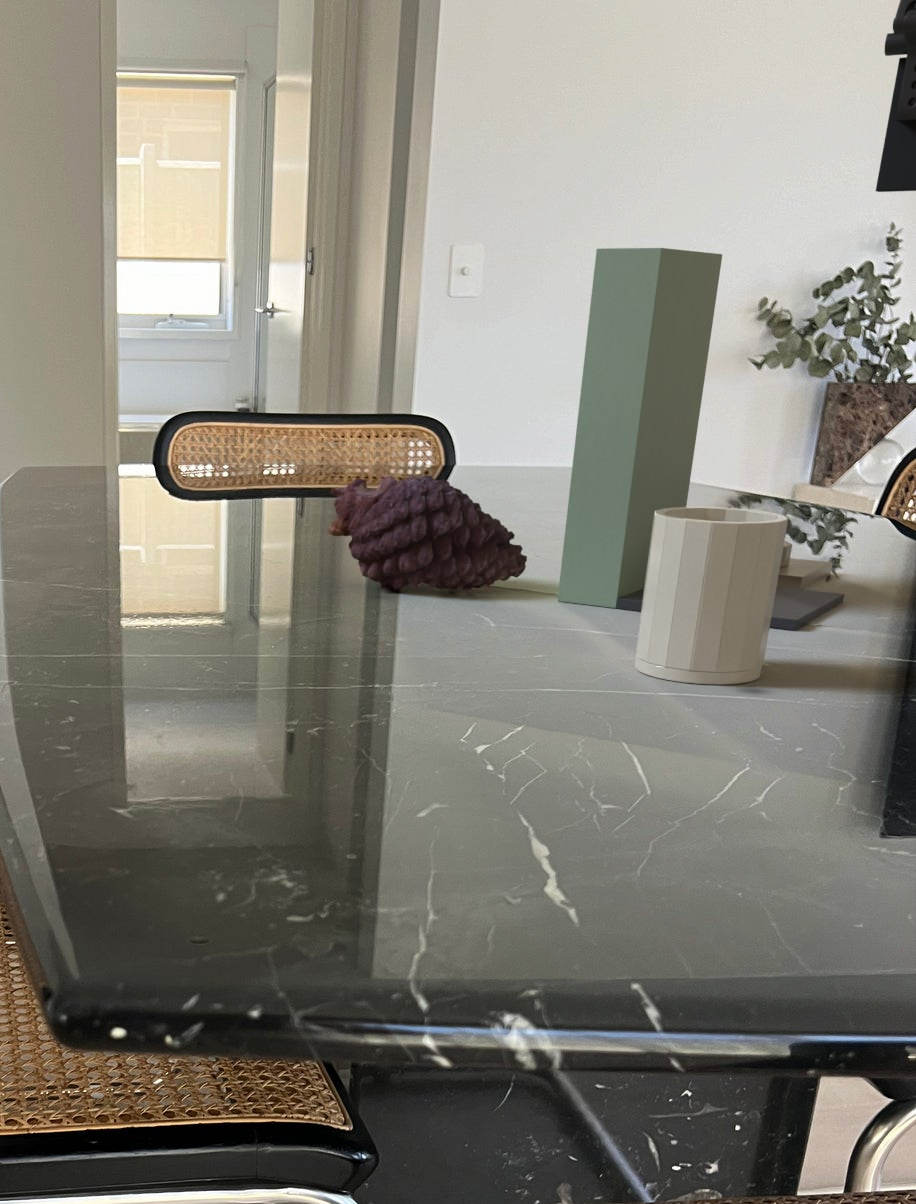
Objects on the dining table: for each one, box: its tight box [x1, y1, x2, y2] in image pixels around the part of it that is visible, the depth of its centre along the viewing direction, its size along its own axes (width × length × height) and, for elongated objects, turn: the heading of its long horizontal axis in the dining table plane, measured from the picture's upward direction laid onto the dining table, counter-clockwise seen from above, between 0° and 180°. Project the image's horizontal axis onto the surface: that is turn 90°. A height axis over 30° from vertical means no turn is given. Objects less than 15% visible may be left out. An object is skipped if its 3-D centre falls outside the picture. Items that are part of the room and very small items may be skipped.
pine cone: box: [326, 474, 528, 591], centre depth 123 cm, size 18×10×10 cm
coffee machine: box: [556, 247, 845, 631], centre depth 115 cm, size 19×14×26 cm
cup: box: [634, 506, 789, 686], centre depth 95 cm, size 8×8×10 cm
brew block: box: [777, 540, 834, 590], centre depth 132 cm, size 12×10×3 cm
